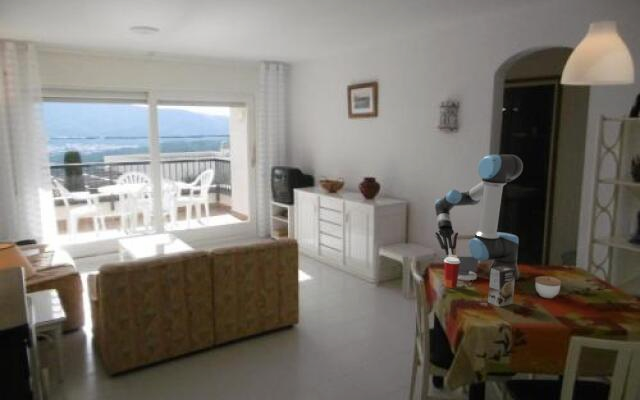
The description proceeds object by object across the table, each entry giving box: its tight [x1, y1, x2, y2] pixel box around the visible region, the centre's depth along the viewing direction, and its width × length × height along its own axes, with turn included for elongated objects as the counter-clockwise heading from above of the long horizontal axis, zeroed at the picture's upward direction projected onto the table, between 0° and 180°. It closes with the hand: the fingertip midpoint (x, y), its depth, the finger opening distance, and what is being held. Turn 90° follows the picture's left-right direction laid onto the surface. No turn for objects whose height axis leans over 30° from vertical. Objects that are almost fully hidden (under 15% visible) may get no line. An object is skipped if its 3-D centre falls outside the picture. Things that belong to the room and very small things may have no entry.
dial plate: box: [457, 271, 478, 282], centre depth 238 cm, size 14×14×2 cm
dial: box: [450, 254, 479, 275], centre depth 237 cm, size 14×6×9 cm, turn 90°
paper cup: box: [443, 256, 460, 289], centre depth 222 cm, size 8×8×14 cm
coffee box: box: [487, 266, 516, 307], centre depth 201 cm, size 9×6×16 cm
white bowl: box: [534, 275, 562, 299], centre depth 211 cm, size 11×11×9 cm
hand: (450, 259), depth 243 cm, fingers closed
